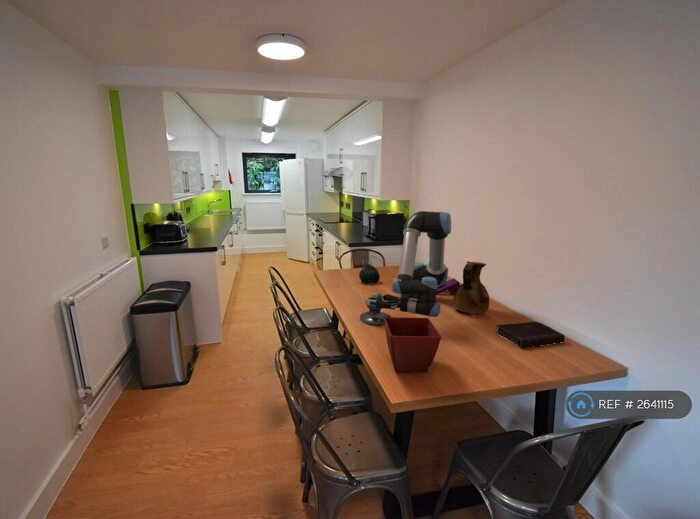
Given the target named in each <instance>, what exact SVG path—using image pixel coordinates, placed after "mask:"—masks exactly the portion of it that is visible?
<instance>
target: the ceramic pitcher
mask: <svg viewBox="0 0 700 519" xmlns="http://www.w3.org/2000/svg"><path fill="white" fill-rule="evenodd" d="M485 266H487V263H485V262H481V261H478V262H477V261H468V260H467V261H466V264H465V265H464V267H463V269H462V282H463V283H461V284H460V287H459V288H458V290H457V291H456V293H455V295H453V299H452V306H453V307H454V308H455V309H456V310H457V311H458V310H459V311H460V312H462V313H465V314H468V315H473V316H478V315H480V314H485V313H487V312H488V310H489V307H490V294H489V292H488V290H487V288H486V287H485V285H484V284H483V283H482V280H481V273H482V270H483V268H484V267H485Z"/></svg>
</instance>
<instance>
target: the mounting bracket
mask: <svg viewBox="0 0 700 519" xmlns="http://www.w3.org/2000/svg"><path fill="white" fill-rule="evenodd" d="M460 286H461V284H460V282H459V280H457V279H456V278H451V279H449V280H446V284H445V285H443V286H440V285H439V286H438V285H437V294H436V295H439V294H442V293H444V292H447V291H448V292H449V294H451V295H452V296H454V295H455V293H456V291H457V290H458V288H459V287H460Z"/></svg>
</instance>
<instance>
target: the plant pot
mask: <svg viewBox="0 0 700 519" xmlns="http://www.w3.org/2000/svg"><path fill="white" fill-rule="evenodd" d="M384 327H385V337H386V343H387V348H388V351H389V355H390V356H389V357H390V360H391V363H392V365H393V368H394V369H393V370H394V371H395V373H417V372H419V373H420V372H422V373H423V372H426V373H427V372H428V371H429V369H430V367H431V365H432V364H433V362H434V359H435V357H436V355H437V352H438V349H439V346H440V343H441V339H442V335H441V334H440V332H439V331H438V329H437V328H436V326H435V325H434V324H433V322H432V321H431V319H430V318H428V317H399V316H398V317H392V316H391V317H385V325H384ZM419 373H418V374H419ZM422 373H421V374H422ZM423 374H424V373H423Z"/></svg>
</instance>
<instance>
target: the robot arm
mask: <svg viewBox="0 0 700 519" xmlns="http://www.w3.org/2000/svg"><path fill="white" fill-rule="evenodd" d="M451 232H452V216H451V213H450V212H445V211H428V210H427V211H424V210H420V211H417V212H414V213H413V214H412V215H410V216H409V218H408V219H407V220H406V222H405V223H404V227H403V229H402V234H403V242H402V248H401V252H400V253H401V254H400V259H399V260H400V262H399V265H398V267H399V268H398V272H397V277H396V278H395V277H394V278H393V279H392V282H391V291H392V292H393V293H395V294H400V297H399V296H396V295H392V294H388V293H387V294H382V297H381V298H382V299H384V301H377V300H370V299H367V298H364V305H366V304H367V305H373V306H376V308H382V309H385V310H386V309H387V310H393V311H395V310H396V309H398V308H399V311H400V312H403V313H410V314H413V315H415V314H416V315H420V316H421V315H422V316H427V317H430V318H431V317H433V318H437V317H439V315H440V311H441V302H439V301H437V295H438V294H437V286H439V285H440V286H443V285H445V284H446V281H448V275H449V268H448V267H447V266H446V264H445V263H444V262H445V248H446V246H445V244H446V238H447V237H448V236H449V235H450V234H451ZM422 233H424V234H426V236H427V238H428V239H429V249H428V250H429V252H428V253H429V254H428V259H429V260H428V263H427V264H426V265H425V264H424V263H423V262H421V261H420V262H419V261H416V256H417V250H418V242H419V237H421V234H422ZM371 297H377V293H373V292H372V293H371ZM367 305H366V306H367Z"/></svg>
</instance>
